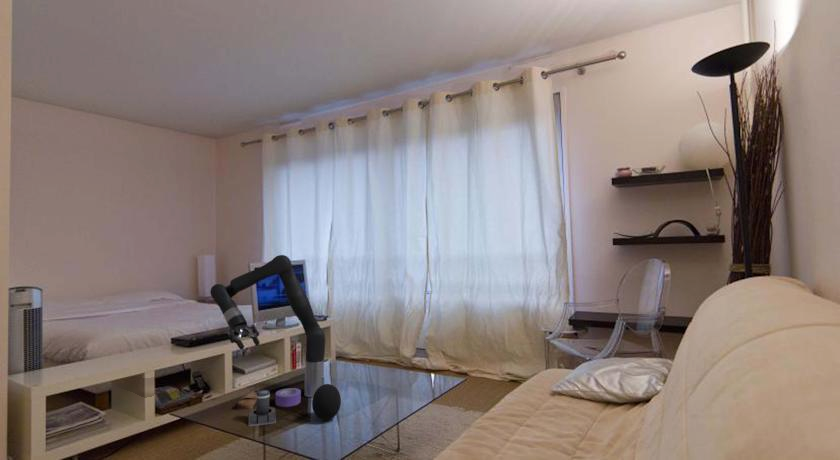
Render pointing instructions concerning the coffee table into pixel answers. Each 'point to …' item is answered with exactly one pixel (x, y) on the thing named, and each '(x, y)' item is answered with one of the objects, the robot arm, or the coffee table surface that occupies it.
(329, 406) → the decorative egg
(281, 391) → the tape roll
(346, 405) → the coffee table surface
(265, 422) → the mount
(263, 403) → the lens
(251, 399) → the sunglasses case
